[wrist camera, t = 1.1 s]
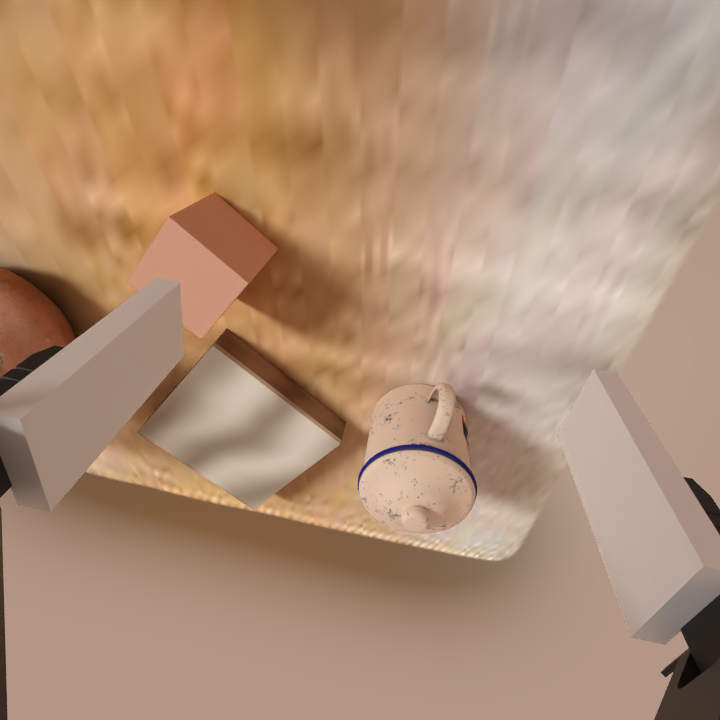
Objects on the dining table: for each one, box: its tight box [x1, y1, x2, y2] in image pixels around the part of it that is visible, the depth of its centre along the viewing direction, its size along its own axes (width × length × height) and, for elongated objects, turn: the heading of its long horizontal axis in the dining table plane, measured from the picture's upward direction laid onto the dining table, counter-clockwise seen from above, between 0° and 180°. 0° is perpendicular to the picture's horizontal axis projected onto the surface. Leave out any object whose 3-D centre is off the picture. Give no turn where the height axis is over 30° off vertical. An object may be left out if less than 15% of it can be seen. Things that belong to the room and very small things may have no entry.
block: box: [127, 193, 278, 339], centre depth 32 cm, size 6×6×7 cm
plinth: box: [138, 329, 346, 510], centre depth 43 cm, size 14×14×3 cm
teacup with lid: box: [358, 383, 477, 534], centre depth 36 cm, size 12×9×12 cm
